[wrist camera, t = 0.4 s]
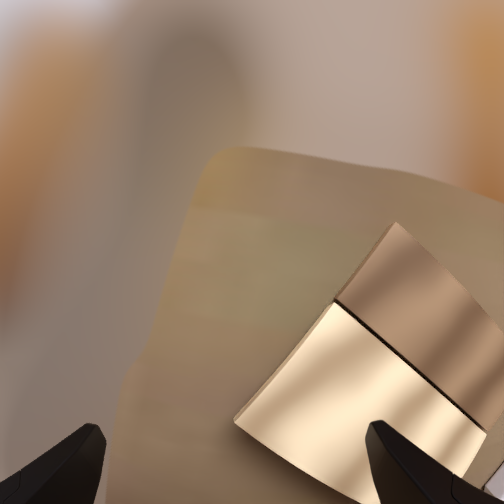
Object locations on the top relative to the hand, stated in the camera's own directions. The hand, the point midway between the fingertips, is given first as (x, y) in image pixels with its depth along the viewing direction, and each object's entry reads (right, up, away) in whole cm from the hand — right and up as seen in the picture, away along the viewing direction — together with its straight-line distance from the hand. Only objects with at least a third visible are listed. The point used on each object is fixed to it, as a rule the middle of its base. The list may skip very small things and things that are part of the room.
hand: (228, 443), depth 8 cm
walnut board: (+16, -1, +11) cm, 20 cm away
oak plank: (+10, -8, +9) cm, 16 cm away
